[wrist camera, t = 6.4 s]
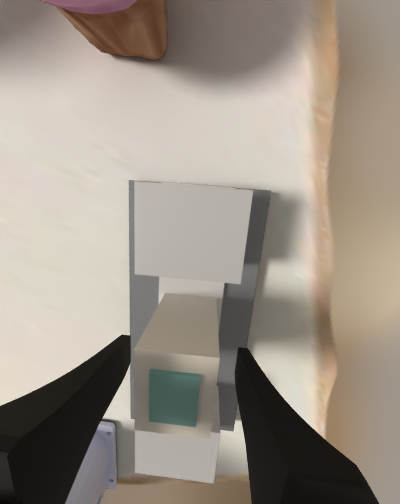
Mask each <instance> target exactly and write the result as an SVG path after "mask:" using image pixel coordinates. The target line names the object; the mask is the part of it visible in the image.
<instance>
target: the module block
mask: <svg viewBox="0 0 400 504" xmlns="http://www.w3.org/2000/svg"><path fill="white" fill-rule="evenodd" d="M219 361H220V353H219V337H218V321H217V304H216V298H212V297H201V296H191V295H180V294H169V293H165V294H164V296H163V298H162V300H161V301H160V303H159V305H158V307H157V309H156V310H155V312H154V314H153V316H152V318H151V320H150V321H149V323H148V325H147V327H146V329H145V330H144V332H143V334H142V336H141V338H140V339H139V341H138V343H137V345H136V347H135V348H134V390H135V430H138V431H146V432H154V433H162V434H170V435H179V436H187V437H195V438H203V439H211V430H212V422H213V413H214V404H215V396H216V387H217V378H218V369H219Z"/></svg>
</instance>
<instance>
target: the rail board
mask: <svg viewBox="0 0 400 504" xmlns="http://www.w3.org/2000/svg"><path fill="white" fill-rule="evenodd" d="M270 193H271V191H267V190H253V189H240V188H235V187H223V186H210V185H196V184H183V183H170V182H162V183H160V182H146V181H133V180H129V261H130V336H131V362H130V386H131V419H135V390H134V348H135V347H136V345H137V343H138V341H139V339H140V338H141V336H142V334H143V332H144V330H145V329H146V327H147V325H148V323H149V321H150V320H151V318H152V316H153V314H154V312H155V310H156V309H157V307H158V305H159V303H160V301H161V300H162V298H163V296H164V294H165V293H169V294H180V295H191V296H201V297H212V298H216V304H217V321H218V337H219V353H220V361H219V369H218V378H217V387H216V396H215V404H214V413H213V422H212V430H211V439H203V438H195V437H187V436H179V435H170V434H162V433H154V432H146V431H138V430H135V473H139V474H147V475H154V476H162V477H169V478H176V479H184V480H191V481H198V482H206V483H214V477H215V469H216V462H217V455H218V447H219V440H220V430H227V431H233V430H234V424H235V418H236V411H237V405H238V399H237V394H236V386H235V374H234V372H235V365H236V358H237V351H238V347H241V348H246V347H247V340H248V334H249V328H250V321H251V315H252V308H253V302H254V295H255V289H256V283H257V276H258V270H259V263H260V257H261V250H262V244H263V238H264V231H265V225H266V218H267V212H268V206H269V199H270Z"/></svg>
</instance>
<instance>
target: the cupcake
mask: <svg viewBox="0 0 400 504" xmlns="http://www.w3.org/2000/svg"><path fill="white" fill-rule="evenodd" d="M41 1H43V2H45V3H47V4H50V5H53V6H56V7H57V8H58V9H59V10H60V11H61V13H62V14H63V15H64V16H65V17H66V18H67V19H68V20H69V21H70V22H71V23H72V24H73V26H74V27H75V28H76V29H77V30H78V31H79V32H80V33H81V34H82V35H83V36H84V37H85V38H86V39H87V40H88V41H89V42H90V43H91V44H92V45H93V46H95V47H96V48H97V49H99V50H100V51H101V52H104V53H110V54H118V55H123V56H140V57H143V58H147V59H153V60H155V59H159V58H160V57H162V56H163V55H164V53H165V51H166V49H167V43H168V34H167V0H41Z"/></svg>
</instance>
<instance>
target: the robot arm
mask: <svg viewBox="0 0 400 504" xmlns="http://www.w3.org/2000/svg"><path fill="white" fill-rule="evenodd" d="M130 362H131V336H129V335H121V336H119V337H118V338H117V339H115V340H114V341H113V342H112V343H110V344H109V345H108V346H106V347H105V348H104V349H102V350H101V351H100V352H98V353H97V354H96V355H94V356H93V357H91V358H90V359H88V360H87V361H85V362H84V363H82V364H81V365H80V366H78V367H76V368H75V369H73V370H72V371H70V372H68V373H67V374H65V375H63V376H62V377H60V378H58V379H56V380H54V381H52V382H51V383H49V384H47V385H45V386H43V387H41V388H39V389H37V390H35V391H33V392H31V393H29V394H27V395H25V396H22V397H20V398H18V399H16V400H13V401H11V402H9V403H6V404H4V405H1V406H0V504H101V502H102V499H103V496H104V494H105V491H106V489H115V487H116V485H117V466H116V435H115V425H114V424H113V423H111V422H104V421H101V420H102V418H103V416H104V414H105V412H106V410H107V408H108V407H109V405H110V403H111V401H112V399H113V397H114V396H115V394H116V392H117V390H118V388H119V386H120V385H121V383H122V381H123V379H124V377H125V375H126V372H127V370H128V367H129V365H130ZM234 374H235V386H236V394H237V399H238V405H239V410H240V415H241V421H242V426H243V431H244V437H245V443H246V452H247V461H248V470H249V480H250V489H251V500H252V504H379V502H378V501H377V499H376V497H375V495H374V494H373V492H372V490H371V488H370V486H369V485H368V483H367V481H366V480H365V478H364V476H363V475H362V473H361V472H360V470H359V469H358V467H357V465H355V464H354V463H353V462H352V461H350V460H349V459H348V458H347V457H345V456H344V455H343V454H342V453H340V452H339V451H338V450H337V449H336V448H334V447H333V446H332V445H331V444H329V443H328V442H327V441H326V440H325V439H324V438H323V437H322V436H320V435H319V434H318V433H317V432H316V431H315V430H314V429H313V428H312V427H311V426H309V425H308V424H307V423H306V422H305V421H304V420H303V419H302V418H301V417H300V416H299V415H298V414H297V413H296V412H295V411H294V410H293V408H292V407H291V406H290V405H289V404H288V403H287V402H286V401H285V400H284V398H283V397H282V396H281V395H280V394H279V392H278V391H277V390H276V389H275V387H274V386H273V385H272V384H271V382H270V381H269V380H268V378H267V377H266V375H265V374H264V372H263V371H262V370H261V368H260V367H259V365H258V364H257V362H256V361H255V359H254V357H253V356H252V354H251V353H250V351H249V350H248V348H241V347H238V351H237V358H236V365H235V372H234Z"/></svg>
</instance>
